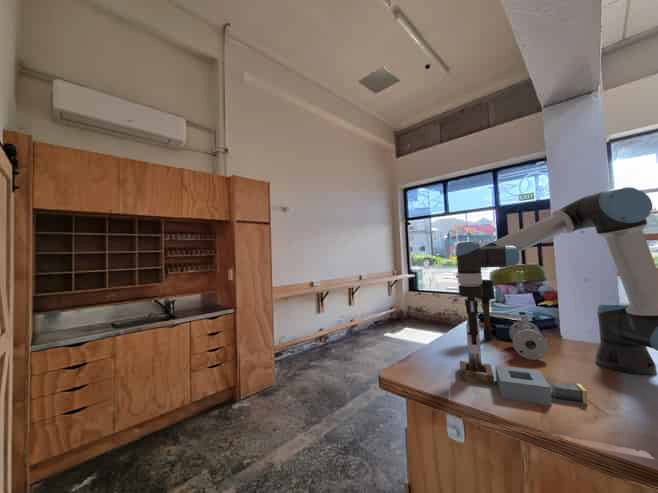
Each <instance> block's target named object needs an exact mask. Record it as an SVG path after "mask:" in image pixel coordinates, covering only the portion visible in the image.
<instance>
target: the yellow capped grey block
mask: <svg viewBox="0 0 658 493" xmlns="http://www.w3.org/2000/svg"><path fill="white" fill-rule="evenodd" d="M551 391H552V393H551V395H552V396H553V397H554V399H561V400H568V401H575V402H582V403H583V404H584V405H587V406H588V390H586V389H585V388H584V386H583V385H582V384H581V383H575V385H573V384H572V385H571V384H566V383H565V384H564V383H555V382H551Z"/></svg>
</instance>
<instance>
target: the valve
mask: <svg viewBox="0 0 658 493" xmlns="http://www.w3.org/2000/svg"><path fill="white" fill-rule="evenodd" d="M518 314H519V316H520V317H521V321H520V320H518V321H516V322H514V323H513V324H512V325H511V326H510V327H509V332H508V333H509V336H510V340H512V346H513V348H514V350H515V351H516V352H517V353H518V355H519V356H520V357H523V358H524V359H527V360H530V361H531V360H534V361H535V360H536V361H538V360H541V359H544V358H545V357H546V356H547V355H548V354H549V351H550V344H549V342H548V340H547V338H546V337H545V336H544V335H543V334H542V333H541V331H540V329H539V327H537V325H536V324H534V323H532V322H529V319H528V315H527V313H526V312H525V311H519V312H518ZM540 353H542V354H540Z"/></svg>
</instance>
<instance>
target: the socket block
mask: <svg viewBox="0 0 658 493" xmlns="http://www.w3.org/2000/svg"><path fill="white" fill-rule="evenodd" d="M495 379H496V380H495V381H496V384H497V387H498V390H499V393H500V397H501V399H507V400H508V399H509V400H513V401H519V402H520V401H521V402H527V403H531V404H532V403H534V404H539V405H546V406H551V407H552V404H553V403H552V401H553V402H554V401H555V402H562V403H569V404H576V405H581V406H584V405H585V404H583V403H582V402H575V401H568V400H561V399H555V397H554V398H553V397H552V388H551V386H550V385H549V383H548V381H547V380H546V379H545V377H544V376H543V374H542V373H541V371H540V370H539V369H529V368H522V367H514V366H512V367H511V366H504V365H502V366H501V365H495Z"/></svg>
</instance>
